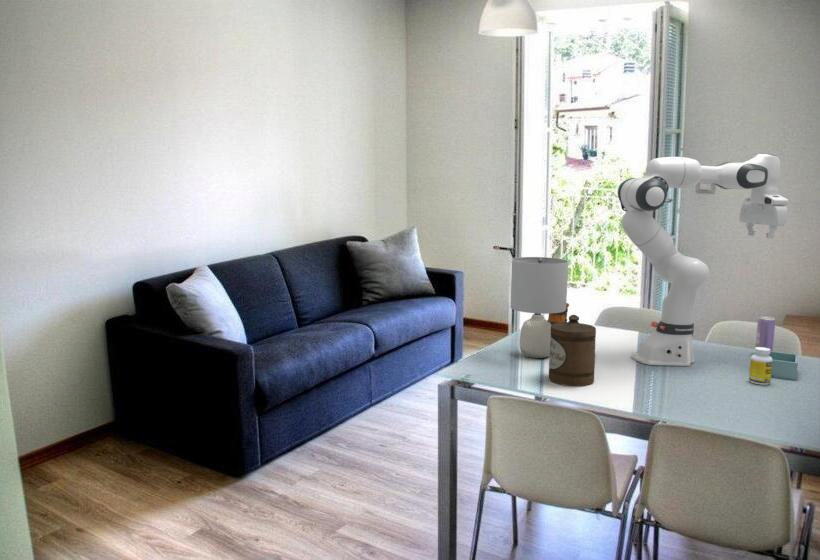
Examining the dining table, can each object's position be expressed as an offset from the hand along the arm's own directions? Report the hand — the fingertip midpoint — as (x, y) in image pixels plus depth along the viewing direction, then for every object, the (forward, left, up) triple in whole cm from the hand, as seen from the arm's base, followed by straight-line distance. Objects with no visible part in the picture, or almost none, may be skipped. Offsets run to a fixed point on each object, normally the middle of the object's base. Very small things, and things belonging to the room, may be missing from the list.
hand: (760, 236), depth 263 cm
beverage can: (+7, +2, -46) cm, 47 cm away
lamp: (-80, +13, -46) cm, 93 cm away
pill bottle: (-17, -29, -46) cm, 57 cm away
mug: (-55, +54, -46) cm, 90 cm away
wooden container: (-79, -18, -46) cm, 93 cm away
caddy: (-4, -19, -46) cm, 50 cm away
